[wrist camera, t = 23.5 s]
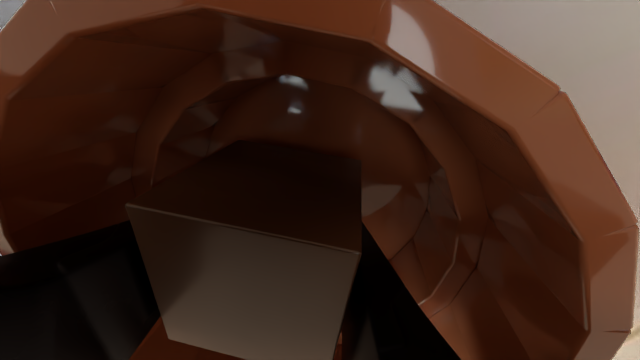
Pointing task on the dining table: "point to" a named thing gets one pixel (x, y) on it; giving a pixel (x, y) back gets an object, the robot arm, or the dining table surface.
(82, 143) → the bowl
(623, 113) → the dining table surface
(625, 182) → the dining table surface
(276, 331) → the block
